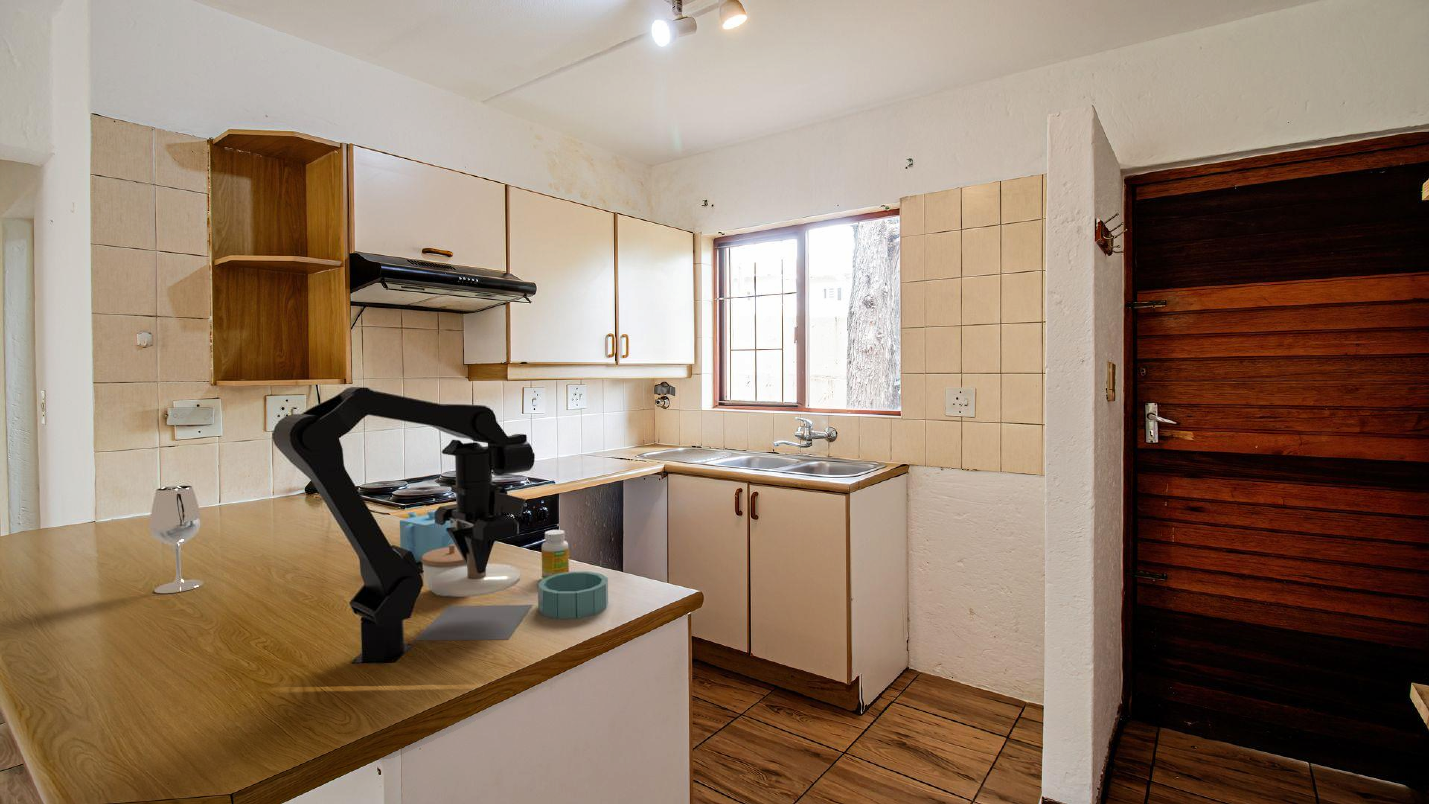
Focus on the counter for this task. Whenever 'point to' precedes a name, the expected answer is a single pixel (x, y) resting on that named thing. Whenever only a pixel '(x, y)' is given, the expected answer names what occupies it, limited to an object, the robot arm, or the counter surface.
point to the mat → (475, 623)
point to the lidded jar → (440, 563)
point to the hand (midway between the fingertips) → (476, 570)
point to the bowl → (573, 594)
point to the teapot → (423, 534)
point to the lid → (475, 580)
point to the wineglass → (175, 528)
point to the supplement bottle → (554, 554)
